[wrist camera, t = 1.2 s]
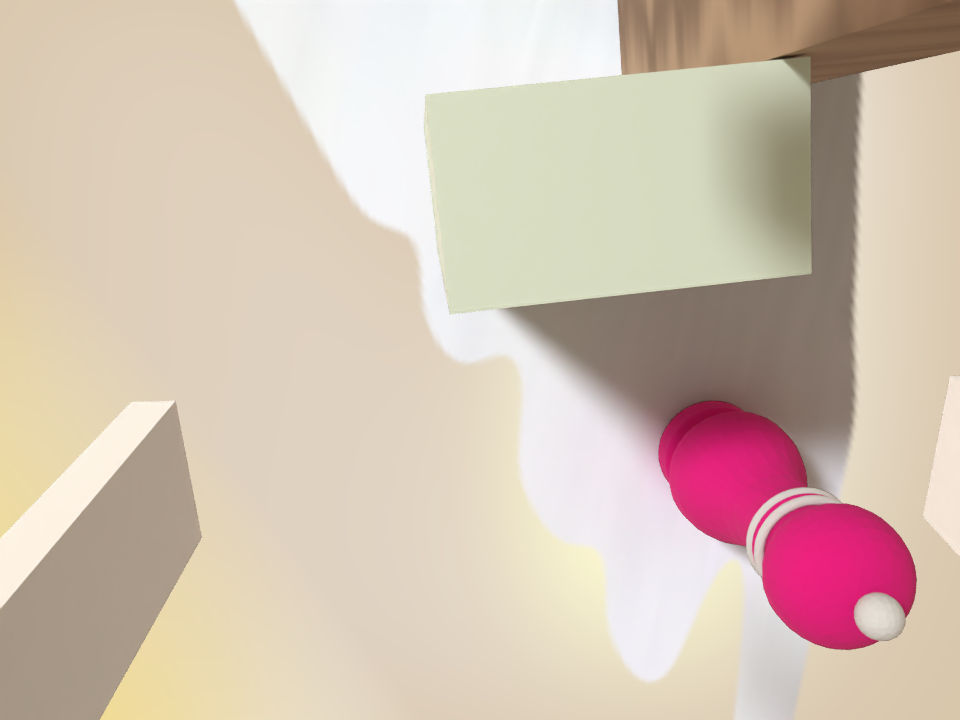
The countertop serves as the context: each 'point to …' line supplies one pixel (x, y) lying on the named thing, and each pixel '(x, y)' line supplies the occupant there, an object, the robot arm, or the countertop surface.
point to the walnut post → (785, 33)
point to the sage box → (621, 183)
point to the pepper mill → (788, 527)
